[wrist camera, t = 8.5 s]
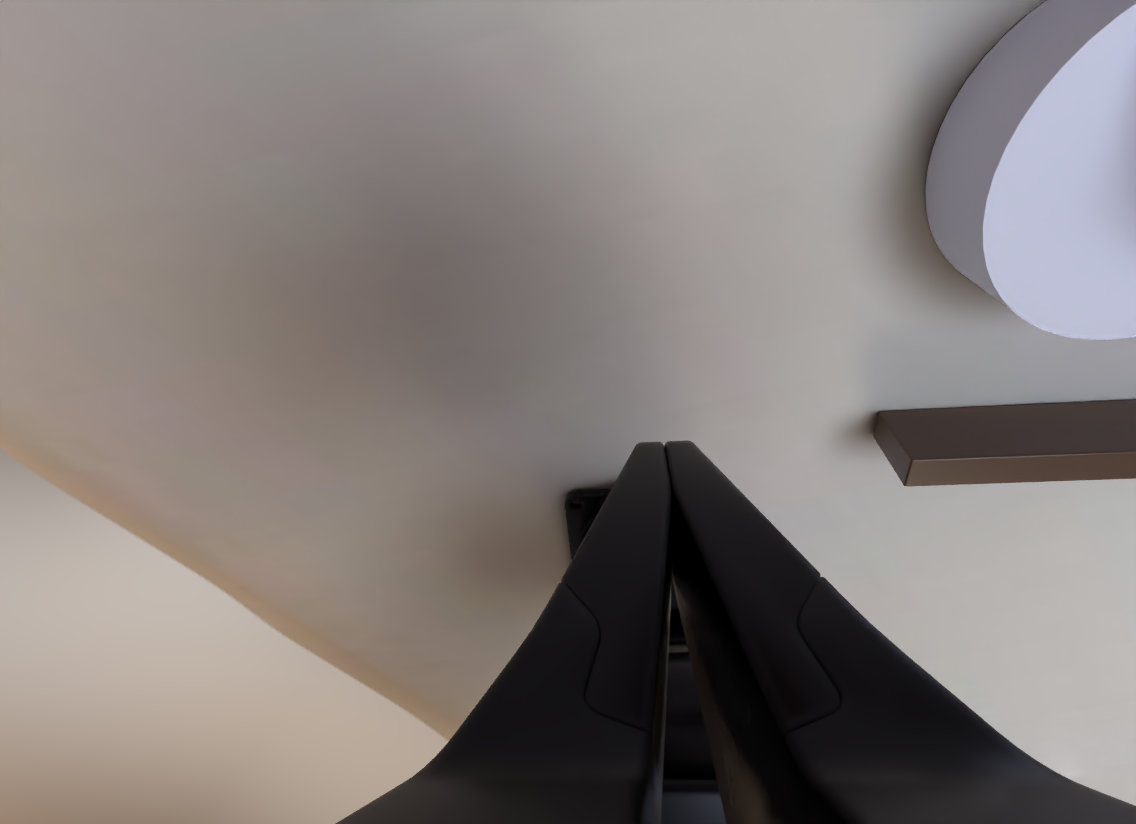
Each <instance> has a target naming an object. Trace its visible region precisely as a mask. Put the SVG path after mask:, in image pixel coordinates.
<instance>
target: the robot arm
mask: <svg viewBox="0 0 1136 824" xmlns="http://www.w3.org/2000/svg"><path fill="white" fill-rule="evenodd" d="M574 501H579V502H581V503H578V504H577V503H574ZM565 510H566V518H567V526H568V534H569V542H570V550H571V558H572V561H571V563H570V565H569V567H568V568H567V570H566V572H565V574H564V576H563V577H562V579H561V583H559V584H558V586H557V588H556V590H555V591H554V593H553V595H552V597H551V599H550V600H549V602H548V604H547V605H546V607H545V609H544V610H543V612H542V614H541V615H540V617H539V619H538V620H537V622H536V624H535V625H534V627H533V629H532V630H531V632H530V633H529V634H528V636H527V637H526V639H525V640H524V641H523V643H522V644H521V646H520V647H519V649H518V650H517V651H516V653H515V654H514V656H513V657H512V658H511V660H510V661H509V663H508V664H507V665H506V666H505V668H504V669H503V670H502V672H501V673H500V674H499V676H498V677H497V678H496V680H495V681H494V682H493V684H492V685H491V686H490V688H489V689H488V690H487V692H486V693H485V694H484V696H483V697H482V698H481V700H480V701H479V702H478V704H477V705H476V706H475V708H474V709H473V710H472V712H471V713H470V714H469V716H468V717H467V718H466V720H465V721H464V722H463V724H462V725H461V726H460V728H459V729H458V730H457V732H456V733H455V734H454V735H453V737H452V738H451V739H450V741H449V742H448V743H447V744H446V746H445V747H444V748H443V749H442V750H441V751H440V752H439V754H437V756H436V757H435V758H434V759H432V761H430V763H428V764H427V765H426V766H425V767H424V768H423V769H422V770H420V771H419V772H418V773H417V774H415V775H414V776H413V777H412V778H410V779H409V780H407V781H405V782H404V783H402V784H400V785H399V786H397V787H395V788H394V789H392V790H391V791H389V792H387V793H386V794H384V795H382V796H381V797H379V798H377V799H376V800H374V801H372V802H371V803H369V804H368V805H366V806H364V807H362V808H361V809H359V810H357V811H356V812H354V813H353V814H351V815H349V816H348V817H346V818H344V819H343V820H341V821H339V822H338V823H336V824H1136V806H1134V805H1132V804H1129V803H1127V802H1124V801H1122V800H1119V799H1116V798H1114V797H1111V796H1109V795H1106V794H1104V793H1101V792H1098V791H1096V790H1093V789H1091V788H1088V787H1086V786H1083V785H1081V784H1079V783H1076V782H1074V781H1072V780H1070V779H1068V778H1066V777H1064V776H1062V775H1060V774H1058V773H1056V772H1055V771H1053V770H1051V769H1050V768H1048V767H1046V766H1045V765H1043V764H1041V763H1040V762H1038V761H1036V760H1035V759H1033V758H1032V757H1031V756H1029V755H1028V754H1026V753H1025V752H1023V751H1022V750H1021V749H1019V748H1018V747H1016V746H1015V745H1014V744H1012V743H1011V742H1010V741H1009V740H1007V739H1006V738H1005V737H1004V736H1002V735H1001V734H1000V733H999V732H997V731H996V730H995V729H994V728H993V727H991V726H990V725H989V724H988V723H987V722H985V721H984V720H983V719H982V718H981V717H980V716H978V715H977V714H976V713H975V712H974V711H972V710H971V709H970V708H969V707H968V706H966V705H965V704H964V703H963V702H962V701H960V700H959V699H958V698H957V697H956V696H955V695H953V694H952V693H951V692H950V691H949V690H947V689H946V688H945V687H944V686H943V685H941V684H940V683H939V682H938V681H937V680H935V679H934V678H933V677H932V676H931V675H930V674H928V673H927V672H926V671H925V670H924V669H922V668H921V667H920V666H919V665H918V664H916V663H915V662H914V661H913V660H912V659H911V658H909V657H908V656H907V655H906V654H905V653H904V652H902V651H901V650H900V649H899V648H898V647H897V646H896V645H894V644H893V643H892V642H891V641H890V640H889V639H888V638H886V637H885V636H884V635H883V634H882V633H881V632H880V631H878V630H877V629H876V628H875V627H874V626H873V625H872V624H871V623H870V622H868V621H867V620H866V619H865V618H864V617H863V616H862V615H861V614H860V613H859V612H858V611H857V610H856V609H855V608H854V607H853V606H852V605H851V604H850V603H849V602H848V601H847V600H846V599H845V598H844V597H843V596H842V595H841V594H840V593H839V592H838V591H837V590H836V589H835V588H834V587H833V586H832V585H831V584H830V583H829V582H828V581H827V580H826V579H825V578H824V577H820V573H819V572H818V571H817V570H816V569H815V568H814V567H813V566H812V565H811V564H810V563H809V562H808V561H807V560H806V558H805V557H804V556H803V555H802V554H801V553H800V552H799V551H798V550H797V549H796V548H795V547H794V546H793V545H792V544H791V543H790V542H789V541H788V540H787V539H786V538H785V537H784V536H783V535H782V534H781V533H780V532H779V531H778V530H777V529H776V528H775V527H774V526H773V525H772V524H771V522H770V521H769V520H768V519H767V518H766V517H765V516H764V515H763V514H762V513H761V512H760V511H759V510H758V509H757V508H756V507H755V506H754V505H753V504H752V503H751V502H750V501H749V500H748V499H747V498H746V497H745V496H744V495H743V494H742V493H741V492H740V491H739V490H738V489H737V488H736V487H735V485H734V484H733V483H732V482H731V481H730V480H729V479H728V478H727V477H726V476H725V475H724V474H723V473H722V472H721V471H720V470H719V469H718V468H717V467H716V466H715V465H714V464H713V463H712V462H711V461H710V460H709V459H708V458H707V457H706V456H705V455H704V454H703V453H702V452H701V451H700V449H699V448H698V447H697V446H696V445H695V444H694V443H693V442H691V441H669V442H666V443H665V445H663V443H661V442H643V443H638V444H637V445H636V446H635V448H634V450H633V452H632V453H631V455H630V457H629V459H628V461H627V462H626V464H625V466H624V468H623V470H622V471H621V473H620V475H619V477H618V479H617V480H616V482H615V484H614V486H613V488H612V489H598V490H575V491H571V492H569V493H568V494H567V495H566V499H565Z"/></svg>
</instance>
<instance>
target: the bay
mask: <svg viewBox="0 0 1136 824" xmlns="http://www.w3.org/2000/svg"><path fill="white" fill-rule="evenodd" d="M873 436H874V438H875V440H876V442H877V443H878V445H879V446H880V448H881V449H882V451H883V453H884V454H885V456H886V457H887V459H888V461H889V462H890V464H891V465H892V467H893V469H894V470H895V472H896V473H897V475H898V477H899V478H900V480H901V481H902V483H903V485H904V486H929V485H958V484H987V483H1016V482H1045V481H1074V480H1103V479H1133V478H1136V400H1120V401H1098V402H1077V403H1055V404H1033V405H1011V406H989V407H967V408H945V409H923V410H901V411H880V412H879V413H878V418H877V422H876V426H875V430H874V435H873Z"/></svg>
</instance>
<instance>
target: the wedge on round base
mask: <svg viewBox="0 0 1136 824" xmlns="http://www.w3.org/2000/svg"><path fill="white" fill-rule="evenodd" d="M925 195H926V212H927V217H928V221H929V226H930V230H931V232H932V235H933V237H934V239H935V242H936V244H937V246H938V247H939V249H940V251H941V252H942V254H943V255H944V257H945V258H946V259H947V260H948V261H949V262H950V263H951V264H952V266H953V267H954V268H955V269H956V270H958V271H959V272H960V273H962V274H963V275H964V276H966V277H967V278H968V279H970V280H971V281H972V282H974V283H975V284H976V285H978V286H979V287H981V288H982V289H983V290H985V291H986V292H987V293H989V294H990V295H991V296H993V297H994V298H995V299H997V300H998V301H999V302H1001V303H1002V304H1003V305H1005V306H1006V307H1008V308H1009V309H1010V310H1012V311H1013V312H1014V313H1016V314H1017V315H1018V316H1020V317H1021V318H1023V319H1024V320H1026V321H1027V322H1028V323H1030V324H1032V325H1034V326H1036V327H1038V328H1040V329H1043V330H1045V331H1047V332H1050V333H1054V334H1057V335H1061V336H1065V337H1070V338H1078V339H1085V340H1113V339H1123V338H1132V337H1136V0H1047V1H1045V2H1044V3H1043V4H1041V5H1040V6H1038V7H1037V8H1036V9H1034V10H1033V11H1032V12H1030V13H1029V14H1028V15H1027V16H1025V17H1024V18H1023V19H1022V20H1021V21H1020V22H1019V23H1018V24H1016V25H1015V26H1014V27H1013V28H1012V29H1011V30H1010V31H1009V32H1007V33H1006V34H1005V35H1004V36H1003V37H1002V38H1001V40H1000V41H999V42H998V43H997V44H996V45H995V46H994V47H993V48H992V49H991V50H990V51H989V52H988V53H987V54H986V56H985V57H984V58H983V59H982V61H981V62H980V63H979V64H978V66H977V67H976V68H975V70H974V71H973V72H972V74H971V75H970V76H969V77H968V79H967V80H966V82H965V83H964V85H963V86H962V88H961V90H960V91H959V93H958V94H957V96H956V98H955V99H954V101H953V102H952V104H951V106H950V108H949V110H948V112H947V115H946V117H945V119H944V121H943V123H942V125H941V127H940V130H939V132H938V135H937V138H936V141H935V143H934V146H933V149H932V153H931V157H930V162H929V166H928V170H927V180H926V190H925Z"/></svg>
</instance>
